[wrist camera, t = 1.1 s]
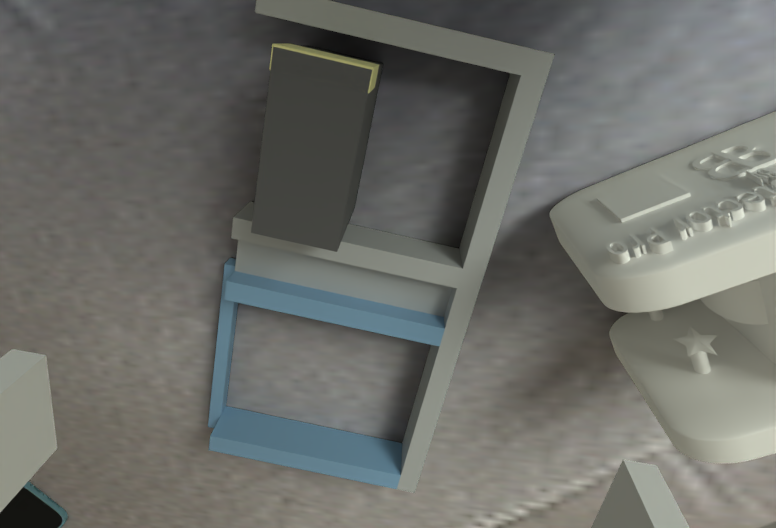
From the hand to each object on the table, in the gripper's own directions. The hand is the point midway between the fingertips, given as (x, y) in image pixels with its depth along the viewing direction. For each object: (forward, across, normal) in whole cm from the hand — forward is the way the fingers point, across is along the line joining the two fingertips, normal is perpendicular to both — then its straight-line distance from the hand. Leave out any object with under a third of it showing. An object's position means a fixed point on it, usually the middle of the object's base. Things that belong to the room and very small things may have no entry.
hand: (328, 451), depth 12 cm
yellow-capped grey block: (+20, -4, +3) cm, 20 cm away
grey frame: (+20, -1, -4) cm, 20 cm away
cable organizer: (+20, +17, +2) cm, 27 cm away
